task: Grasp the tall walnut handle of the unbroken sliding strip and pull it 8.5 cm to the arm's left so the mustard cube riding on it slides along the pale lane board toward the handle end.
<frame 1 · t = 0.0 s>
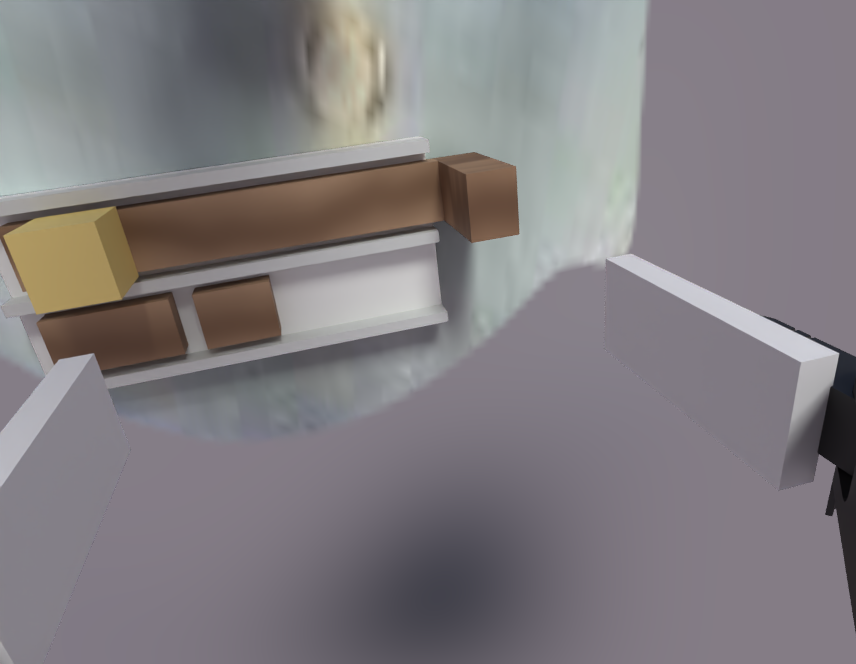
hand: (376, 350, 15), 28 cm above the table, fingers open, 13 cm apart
strip: (261, 228, 35), point 5 cm above the table, slide at 0.0 cm, touching cube, lane board
lane board: (237, 260, 41), on the table
broken strip: (247, 300, 42), resting on lane board
cube: (88, 248, 36), point 3 cm above the table, touching strip
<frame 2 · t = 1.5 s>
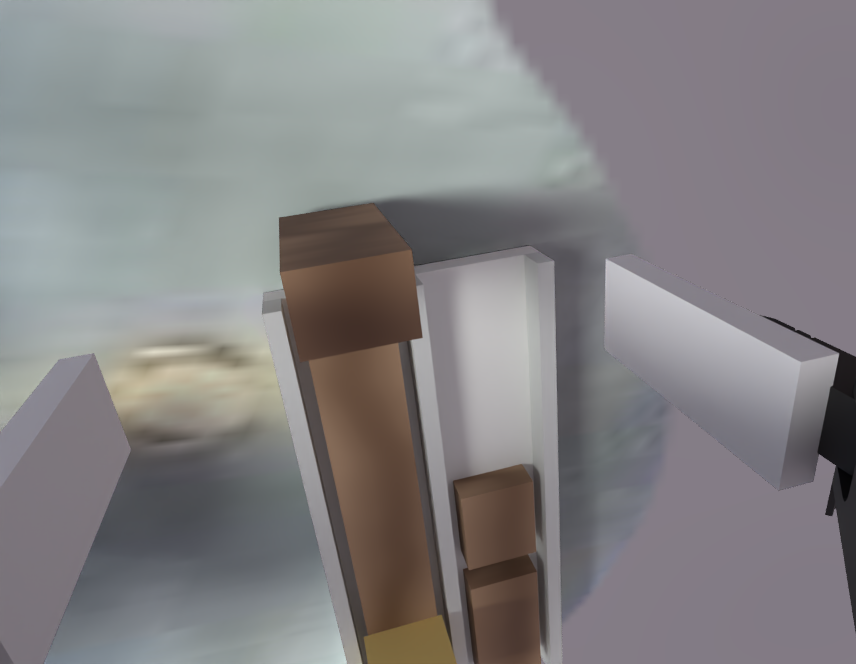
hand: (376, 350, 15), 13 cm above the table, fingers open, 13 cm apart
strip: (390, 544, 27), point 5 cm above the table, slide at 0.0 cm, touching cube, lane board
lane board: (432, 500, 33), on the table
broken strip: (483, 487, 34), resting on lane board
cube: (407, 652, 34), point 3 cm above the table, touching strip
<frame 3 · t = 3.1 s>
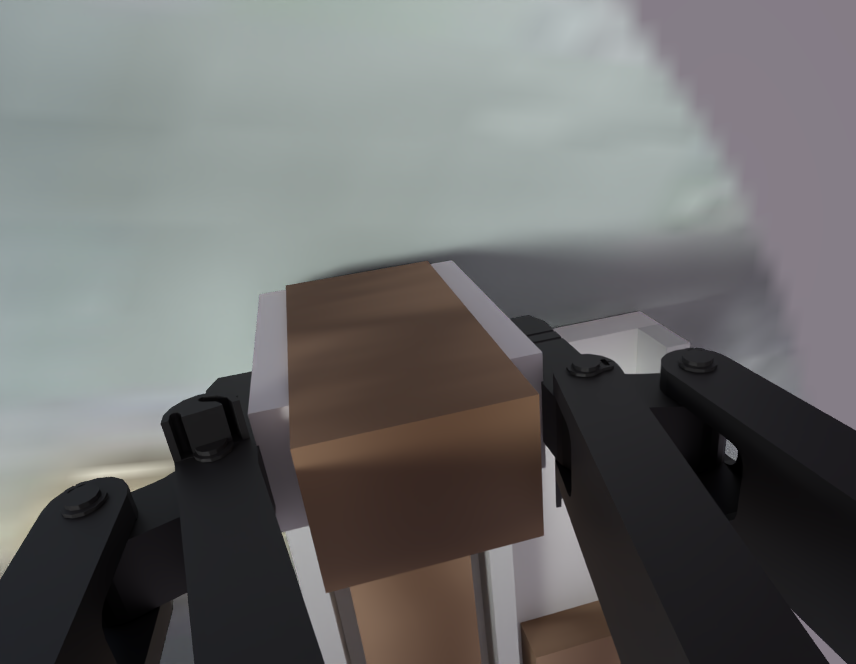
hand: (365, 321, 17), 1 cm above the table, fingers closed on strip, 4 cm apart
lane board: (488, 639, 25), on the table
broken strip: (555, 619, 26), resting on lane board
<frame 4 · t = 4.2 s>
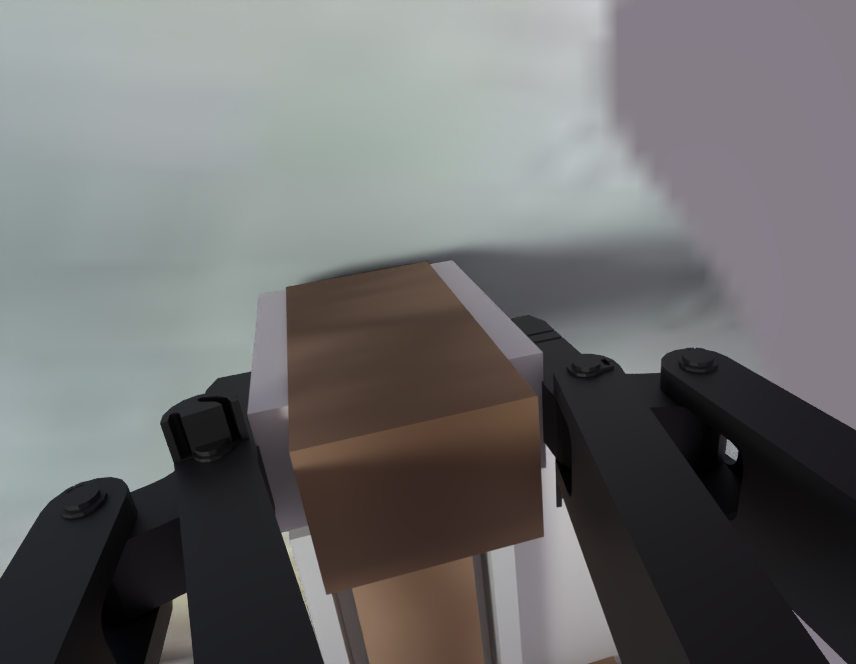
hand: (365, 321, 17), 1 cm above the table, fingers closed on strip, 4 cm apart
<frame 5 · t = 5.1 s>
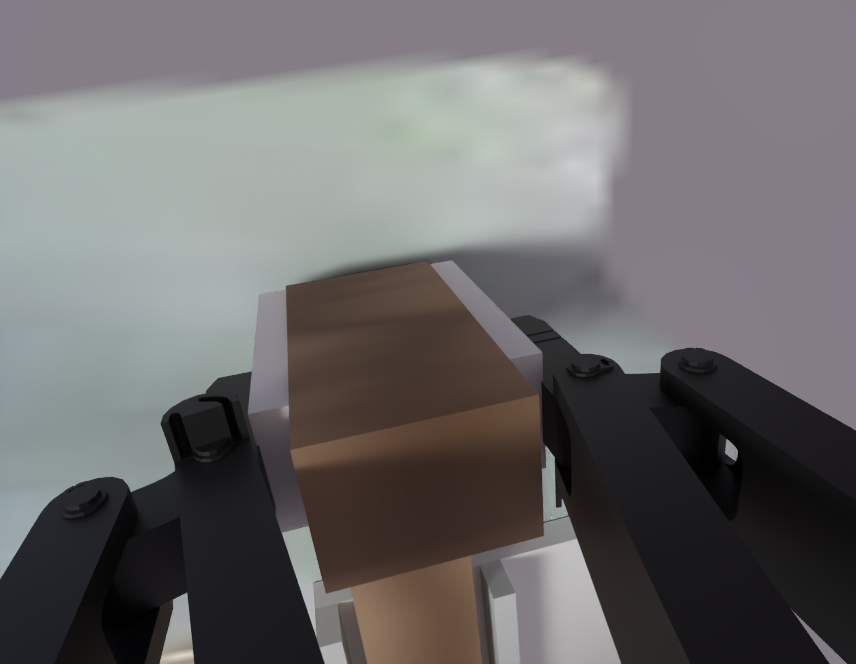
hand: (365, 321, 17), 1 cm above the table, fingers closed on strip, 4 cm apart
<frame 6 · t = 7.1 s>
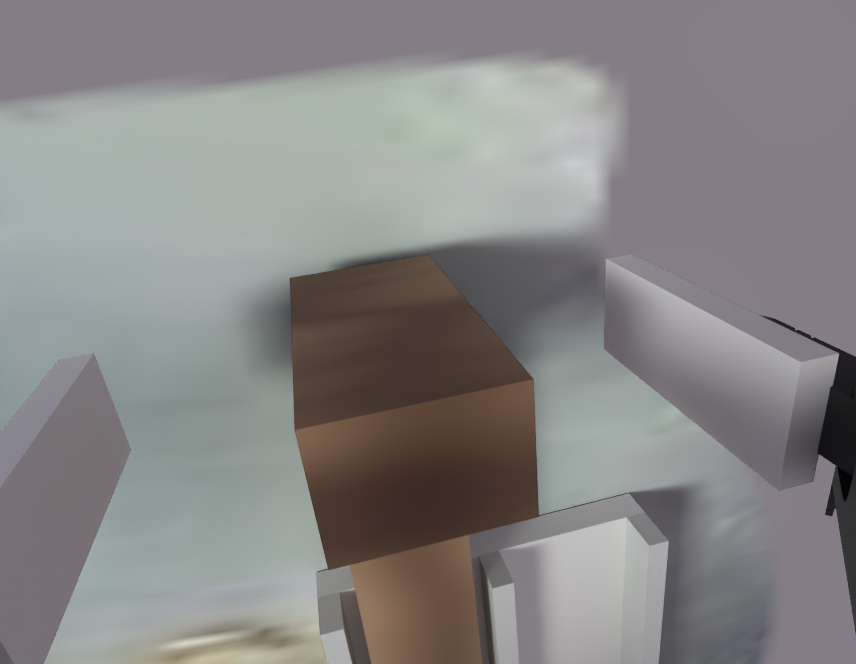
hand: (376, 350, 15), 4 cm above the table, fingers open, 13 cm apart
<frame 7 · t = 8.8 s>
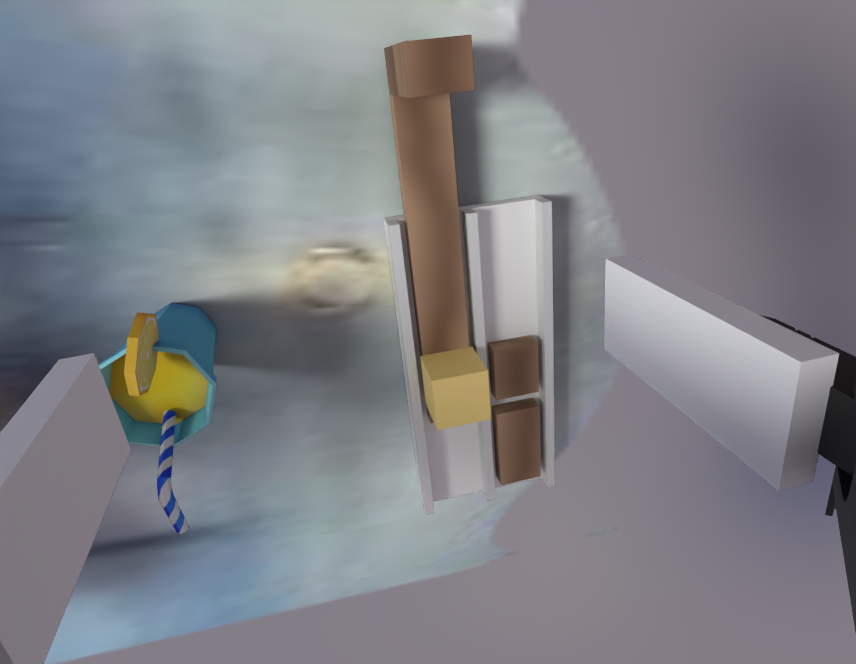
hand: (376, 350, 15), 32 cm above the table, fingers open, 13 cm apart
strip: (444, 266, 43), point 5 cm above the table, slide at 8.5 cm, touching cube, lane board
lane board: (474, 359, 53), on the table
broken strip: (505, 353, 54), resting on lane board
cube: (448, 374, 50), point 3 cm above the table, touching strip
cup: (185, 342, 47), on the table
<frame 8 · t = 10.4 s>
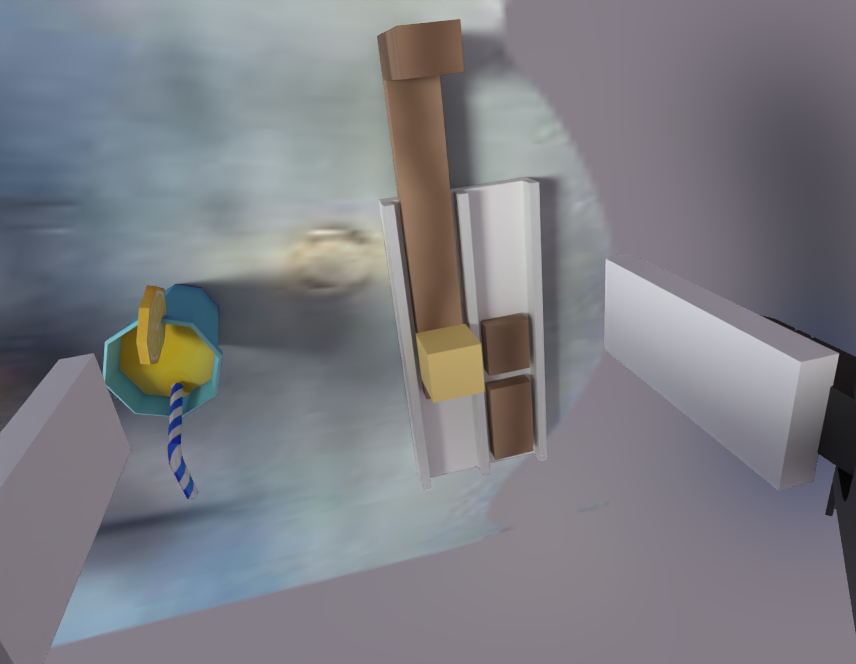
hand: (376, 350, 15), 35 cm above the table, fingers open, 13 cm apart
strip: (437, 243, 45), point 5 cm above the table, slide at 8.5 cm, touching cube, lane board
lane board: (467, 337, 55), on the table
broken strip: (497, 331, 56), resting on lane board
cube: (443, 351, 52), point 3 cm above the table, touching strip
cup: (189, 323, 49), on the table
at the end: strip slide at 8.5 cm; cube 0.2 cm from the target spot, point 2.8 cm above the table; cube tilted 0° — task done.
